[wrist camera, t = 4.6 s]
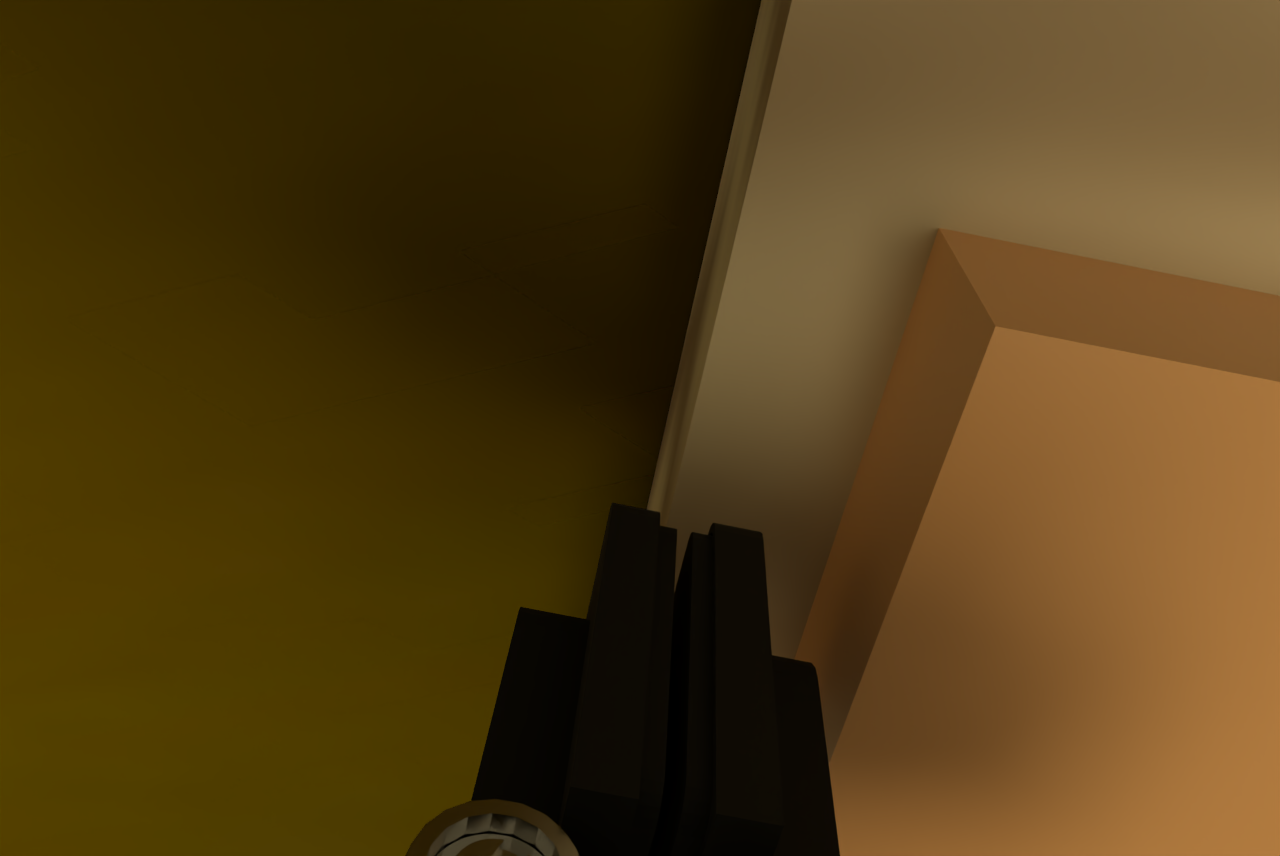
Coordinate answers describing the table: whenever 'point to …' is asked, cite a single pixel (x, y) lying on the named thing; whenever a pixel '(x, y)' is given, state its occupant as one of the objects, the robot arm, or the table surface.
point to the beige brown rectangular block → (940, 218)
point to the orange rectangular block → (1060, 570)
